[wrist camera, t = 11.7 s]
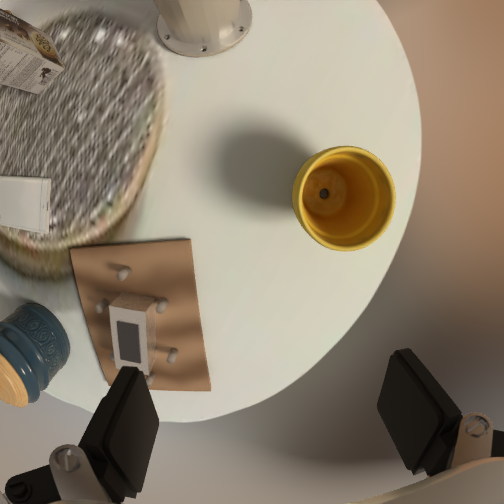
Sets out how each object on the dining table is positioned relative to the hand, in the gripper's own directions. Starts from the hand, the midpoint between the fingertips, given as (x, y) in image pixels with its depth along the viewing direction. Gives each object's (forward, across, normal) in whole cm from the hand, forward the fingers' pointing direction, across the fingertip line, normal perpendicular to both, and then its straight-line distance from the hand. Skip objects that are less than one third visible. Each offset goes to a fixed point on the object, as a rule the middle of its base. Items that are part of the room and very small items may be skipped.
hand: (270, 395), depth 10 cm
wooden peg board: (+28, +16, +12) cm, 35 cm away
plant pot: (+28, -9, -5) cm, 30 cm away
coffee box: (+28, +31, -29) cm, 51 cm away
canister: (+28, +37, +16) cm, 49 cm away
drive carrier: (+27, +16, +12) cm, 34 cm away
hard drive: (+29, +35, -7) cm, 46 cm away
